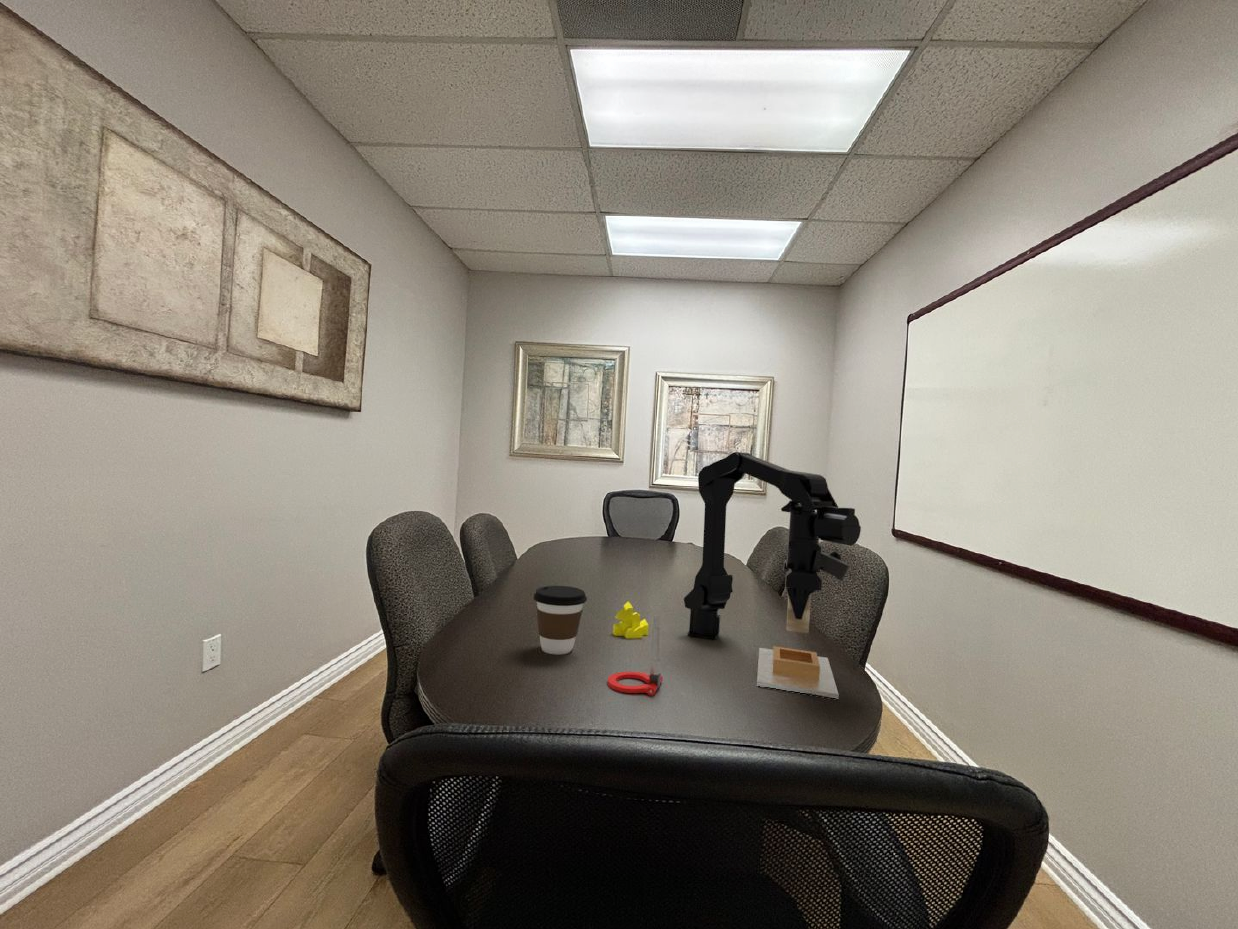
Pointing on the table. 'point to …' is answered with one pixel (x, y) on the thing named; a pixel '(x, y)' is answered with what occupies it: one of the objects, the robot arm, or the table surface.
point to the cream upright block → (795, 623)
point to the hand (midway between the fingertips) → (798, 616)
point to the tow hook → (652, 679)
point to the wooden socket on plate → (795, 671)
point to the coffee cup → (558, 617)
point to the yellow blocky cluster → (630, 623)
